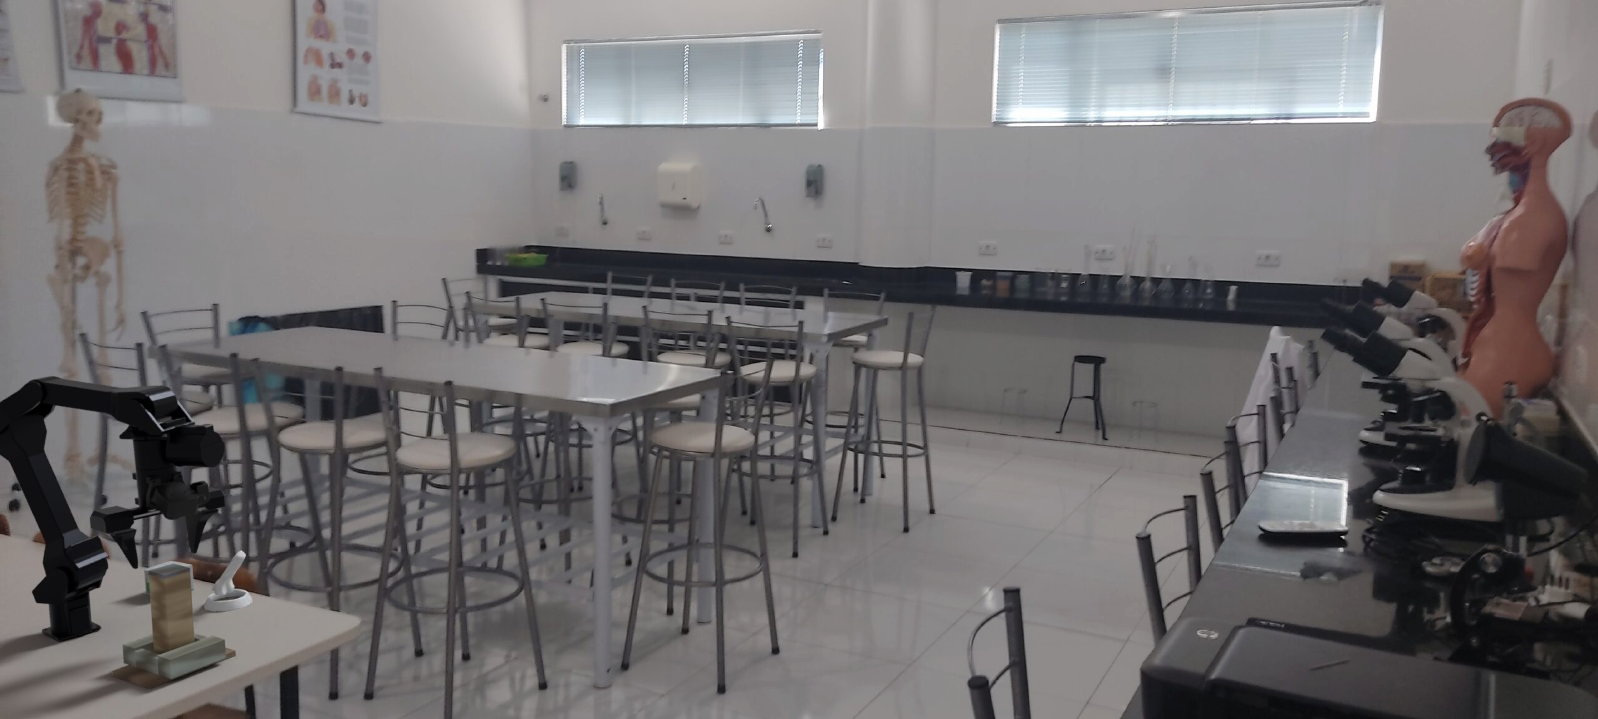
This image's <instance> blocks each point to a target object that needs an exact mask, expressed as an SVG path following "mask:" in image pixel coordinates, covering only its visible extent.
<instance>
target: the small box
mask: <svg viewBox="0 0 1598 719" xmlns="http://www.w3.org/2000/svg"><path fill="white" fill-rule="evenodd" d="M173 563H174V564H178V565H182V566H185V567H189V568H190V577H191V591H193V590H195V585H194V572H193V571H194V570H193V569H194V568H193V564H190V563H189V564H188V563H186V562H185V563H184V562H180V561H173V560H168V561H166V562H162V563H159V564H157V565H153V566H150V567H147V568H146V569H144V573H143V574H144V583H145V595H149V596H150V587H149V573H148V571H149V570H153V569H156V568H159V567H163V566H166V565H170V564H173Z"/></svg>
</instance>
